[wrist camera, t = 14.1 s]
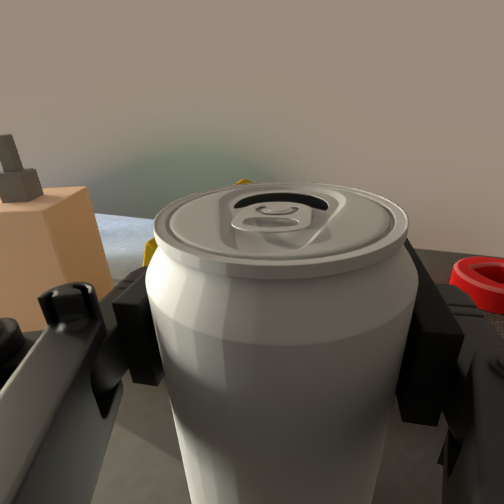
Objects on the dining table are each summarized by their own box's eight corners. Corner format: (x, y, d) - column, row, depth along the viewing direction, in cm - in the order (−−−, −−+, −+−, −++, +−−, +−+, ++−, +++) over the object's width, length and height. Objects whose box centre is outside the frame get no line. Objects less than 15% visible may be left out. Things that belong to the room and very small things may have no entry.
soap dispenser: (120, 309, 42) (72, 129, 32) (92, 356, 34) (19, 137, 25) (22, 314, 42) (-54, 135, 32) (-29, 362, 34) (-148, 145, 24)
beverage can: (355, 436, 15) (394, 175, 10) (377, 646, 9) (500, 283, 4) (222, 416, 16) (195, 174, 11) (168, 591, 10) (57, 257, 5)
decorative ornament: (439, 273, 47) (444, 253, 45) (515, 277, 45) (522, 257, 43) (465, 312, 38) (471, 289, 37) (559, 319, 36) (570, 295, 35)
